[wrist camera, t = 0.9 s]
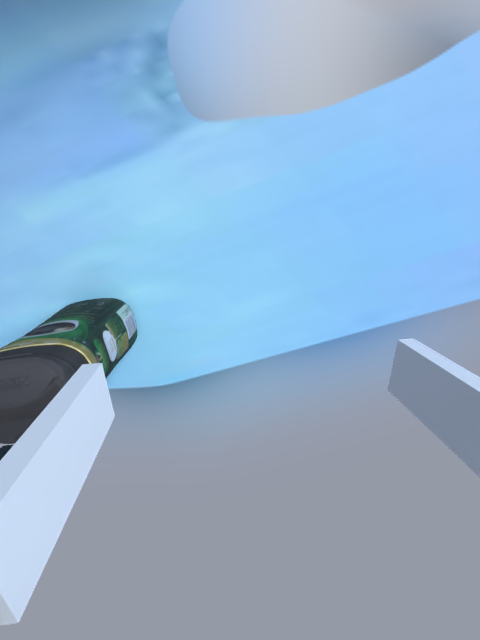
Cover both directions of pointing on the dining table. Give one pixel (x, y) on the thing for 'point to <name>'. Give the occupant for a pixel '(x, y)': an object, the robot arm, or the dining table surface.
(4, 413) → the coffee jar
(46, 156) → the dining table surface
